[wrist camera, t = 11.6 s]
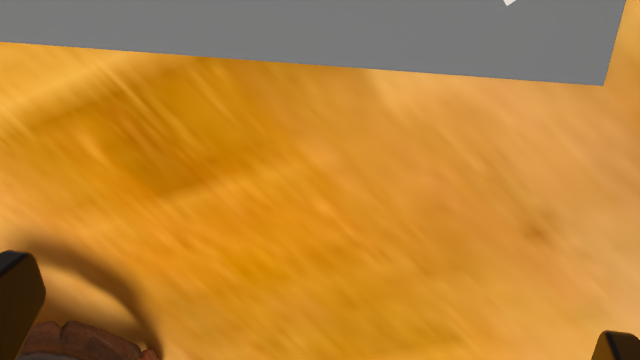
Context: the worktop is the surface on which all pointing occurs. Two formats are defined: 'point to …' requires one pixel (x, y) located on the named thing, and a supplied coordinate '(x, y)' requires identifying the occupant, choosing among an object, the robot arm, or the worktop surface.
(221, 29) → the slate mat
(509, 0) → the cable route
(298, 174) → the worktop surface
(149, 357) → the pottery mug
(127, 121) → the worktop surface
